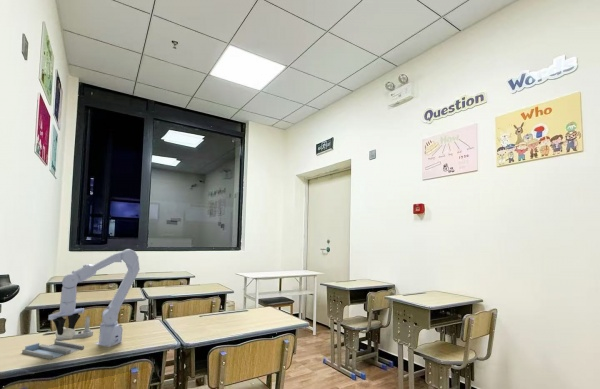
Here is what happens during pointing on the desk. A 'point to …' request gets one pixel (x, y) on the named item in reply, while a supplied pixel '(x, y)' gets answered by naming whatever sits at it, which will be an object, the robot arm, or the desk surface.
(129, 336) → the desk surface
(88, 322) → the electronic device
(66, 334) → the beige rounded block
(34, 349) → the tray
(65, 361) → the desk surface
